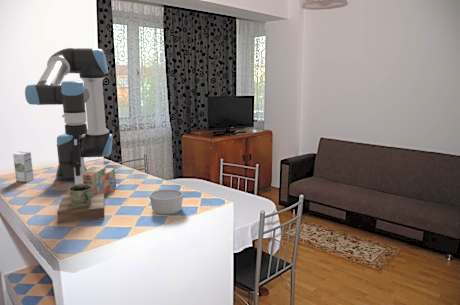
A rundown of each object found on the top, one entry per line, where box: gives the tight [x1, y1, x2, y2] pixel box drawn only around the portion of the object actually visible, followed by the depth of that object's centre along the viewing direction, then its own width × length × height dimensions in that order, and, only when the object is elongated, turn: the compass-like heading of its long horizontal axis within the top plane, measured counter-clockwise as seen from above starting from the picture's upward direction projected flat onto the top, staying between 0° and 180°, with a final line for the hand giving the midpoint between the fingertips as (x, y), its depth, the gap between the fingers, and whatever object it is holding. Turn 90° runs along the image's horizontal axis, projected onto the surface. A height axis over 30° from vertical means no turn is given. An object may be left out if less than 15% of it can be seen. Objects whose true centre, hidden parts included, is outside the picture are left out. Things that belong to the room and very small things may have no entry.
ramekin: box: [149, 188, 184, 216], centre depth 146 cm, size 13×13×7 cm
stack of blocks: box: [82, 166, 117, 196], centre depth 164 cm, size 21×6×12 cm, turn 171°
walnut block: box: [56, 194, 106, 224], centre depth 142 cm, size 16×16×5 cm
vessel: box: [68, 184, 93, 206], centre depth 141 cm, size 12×9×6 cm
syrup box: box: [12, 150, 35, 183], centre depth 181 cm, size 6×6×14 cm
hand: (80, 178), depth 140 cm, fingers open, 13 cm apart
